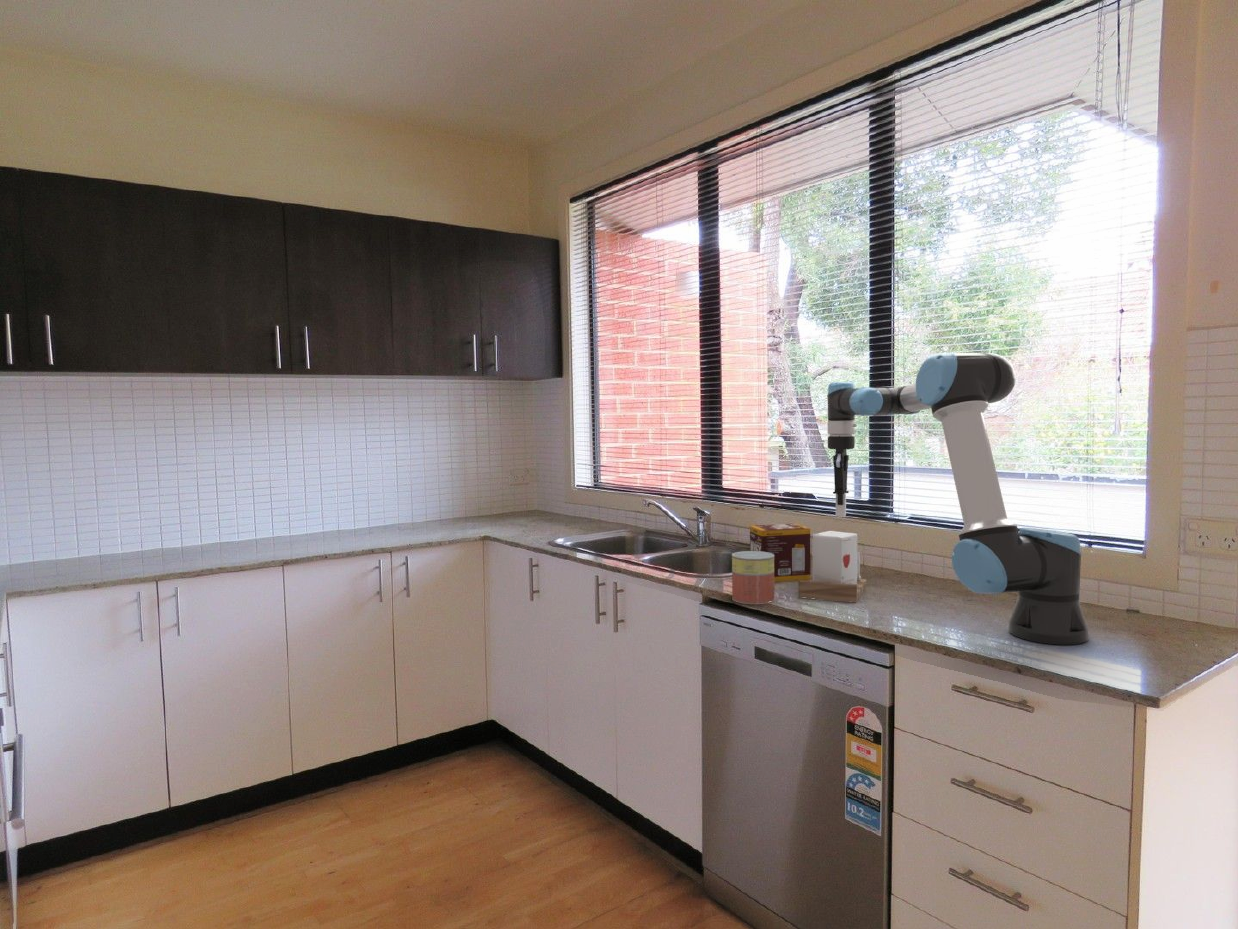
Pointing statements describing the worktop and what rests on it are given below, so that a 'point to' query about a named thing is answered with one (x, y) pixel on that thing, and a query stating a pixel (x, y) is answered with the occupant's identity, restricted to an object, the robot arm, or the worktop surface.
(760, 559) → the canned food
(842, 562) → the supplement box
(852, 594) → the shelf board
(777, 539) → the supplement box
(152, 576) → the worktop surface
